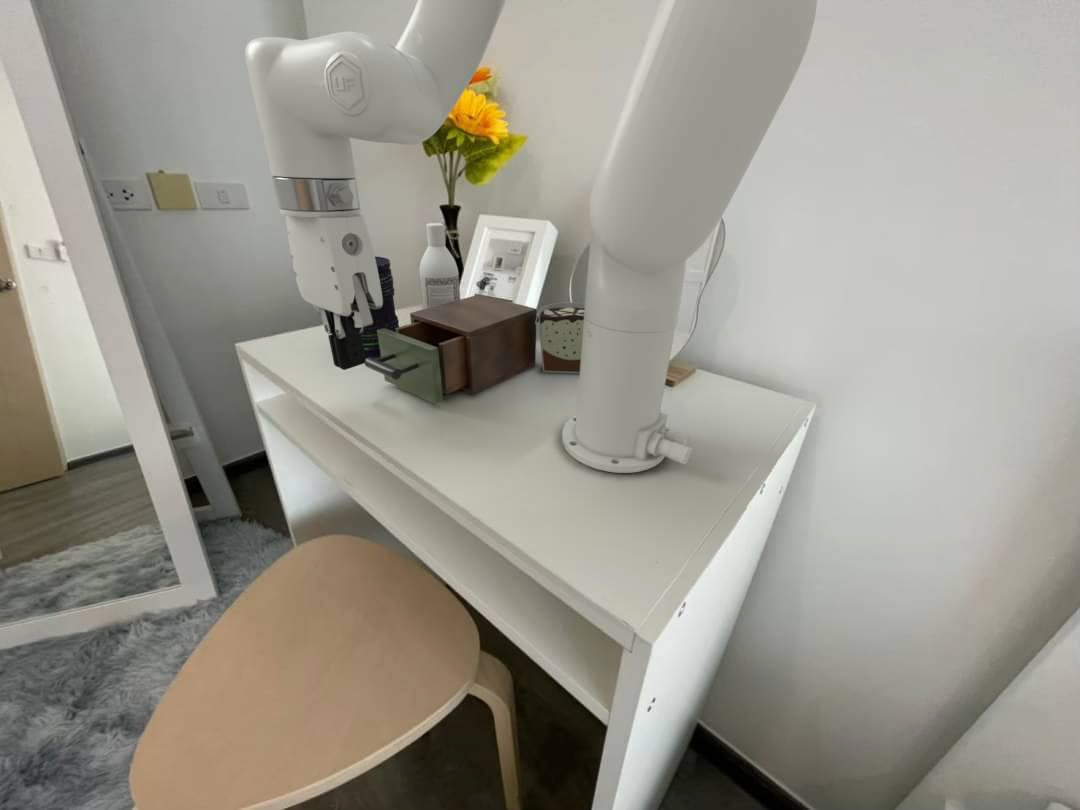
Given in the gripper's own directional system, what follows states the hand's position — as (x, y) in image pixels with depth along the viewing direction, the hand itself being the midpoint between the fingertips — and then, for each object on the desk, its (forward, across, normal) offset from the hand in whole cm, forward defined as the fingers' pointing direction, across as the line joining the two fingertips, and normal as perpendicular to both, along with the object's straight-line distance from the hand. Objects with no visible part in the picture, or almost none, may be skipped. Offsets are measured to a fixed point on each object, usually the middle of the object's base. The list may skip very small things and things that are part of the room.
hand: (350, 364), depth 53 cm
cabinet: (+7, 0, -21) cm, 22 cm away
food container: (+8, -11, -32) cm, 35 cm away
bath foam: (+8, +16, -28) cm, 33 cm away
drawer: (+7, 0, -12) cm, 14 cm away
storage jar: (+8, +20, -15) cm, 26 cm away
